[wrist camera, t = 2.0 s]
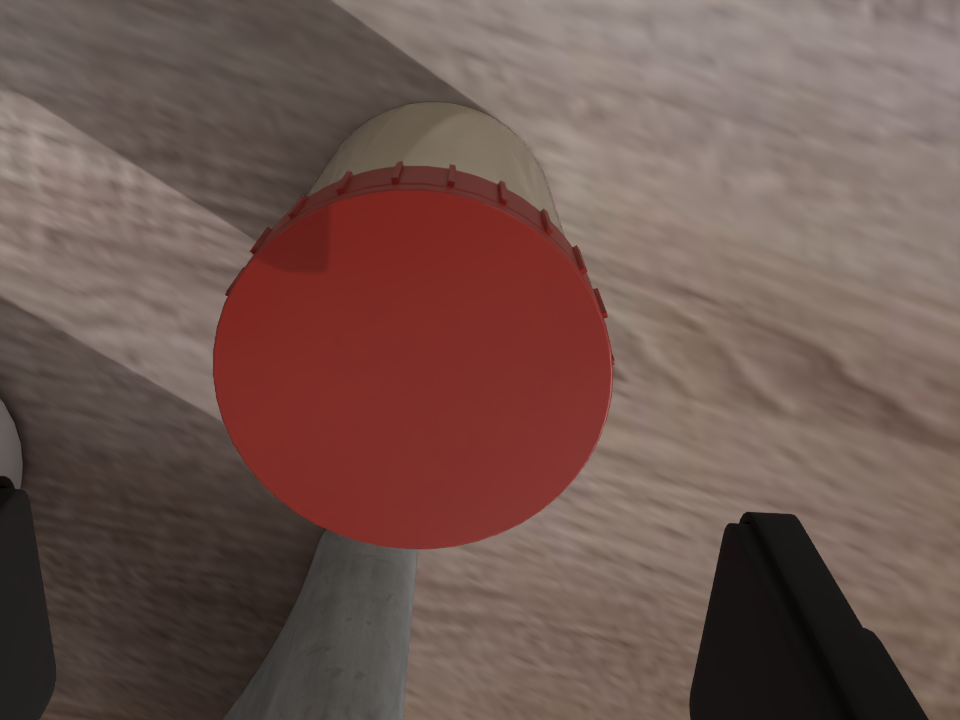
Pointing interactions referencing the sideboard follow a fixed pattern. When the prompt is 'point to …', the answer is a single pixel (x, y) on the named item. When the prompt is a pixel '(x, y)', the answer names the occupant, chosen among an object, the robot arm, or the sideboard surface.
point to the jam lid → (414, 358)
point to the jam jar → (443, 149)
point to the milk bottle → (10, 448)
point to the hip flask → (340, 639)
